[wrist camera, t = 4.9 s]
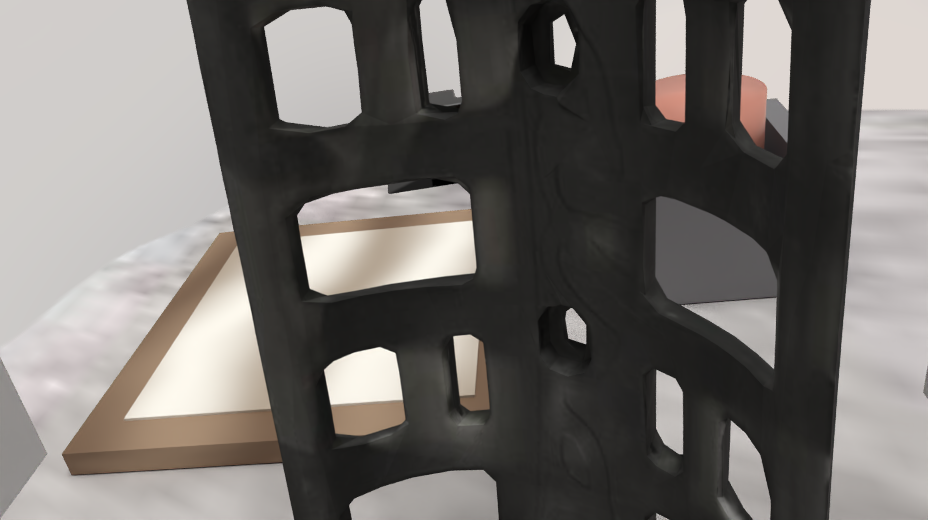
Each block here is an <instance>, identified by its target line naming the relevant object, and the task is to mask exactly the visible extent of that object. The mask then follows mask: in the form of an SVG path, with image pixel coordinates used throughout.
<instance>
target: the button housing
mask: <svg viewBox="0 0 928 520" xmlns="http://www.w3.org/2000/svg"><path fill="white" fill-rule="evenodd" d="M788 114H789V112H788V111H787V110H786V108H785V107H784V106H783V105H782V104H781V103H780V102H779V101H778V100H777V99H767V101H766V122H765V144H764V150H767V151H769V152H771V153H773V154H775V155H777V156H779V157H781V158H784V157H785V156H786V155H787V139H788ZM655 277H656V279H657V281H658V282H659V284H660V286H661V288H662V289H663V291H664V293H665V295H666V296H667V298H668V299H670V300H672V301H674V302H675V303H677V304H689V303H701V302H714V301H727V300H739V299H752V298H765V297H777V279H776V276H775V273H774V271H773V268H772V265H771V263H770V260H769V257H768V255H767V252H766V251H765V250H764V249H763V248H762V247H761V246H760V245H759V244H758V243H757V242H756V241H755V240H754V239H753V238H751V237H750V236H748V235H747V234H745V233H743V232H742V231H740V230H739V229H737V228H735V227H734V226H732V225H731V224H729V223H728V222H726V221H724V220H722V219H720V218H718V217H716V216H714V215H712V214H710V213H707V212H705V211H702V210H700V209H698V208H695V207H693V206H690V205H688V204H685V203H683V202H680V201H678V200H676V199H671V198H667V197H662V196H660V197H656V269H655Z"/></svg>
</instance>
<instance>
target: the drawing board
mask: <svg viewBox="0 0 928 520" xmlns="http://www.w3.org/2000/svg"><path fill="white" fill-rule="evenodd" d="M299 230H300V236H301V242H302V248H303V254H304V259H305V265H306V270H307V276H308V281H309V287H310V289H312V290H315V291H317V292H320V293H322V294H325V295H333V294H339V293H345V292H350V291H356V290H362V289H367V288H372V287H377V286H382V285H387V284H393V283H400V282H407V281H414V280H421V279H428V278H436V277H443V276H452V275H461V274H470V273H475V271H476V256H475V245H474V234H473V223H472V211H471V209H468V210H457V211H446V212H436V213H425V214H415V215H404V216H394V217H383V218H372V219H362V220H351V221H341V222H330V223H320V224H309V225H299ZM453 338H454V348H455V358H456V368H457V377H458V386H459V395H460V404H461V405H463V406H464V407H465V408H467V409H468V410H470V411H476V410H487V409H490V405H489V394H488V383H487V372H486V363H485V355H484V347H483V342H481V341H480V340H478V339H476V338H475V337H473V336H472V335H461V336H453ZM324 372H325V377H326V383H327V388H328V393H329V398H330V403H331V409H332V416H333V422H334V428H335V433H337V434H346V435H356V436H364V435H367V434H371V433H374V432H377V431H380V430H383V429H387V428H390V427H393V426H396V425H399V424H402V423H403V422H404V421H405V412H404V404H403V397H402V389H401V383H400V376H399V369H398V364H397V359H396V354H395V353H394V352H391V351H389V350H386V349H383V348H381V347H378V348H373V349H369V350H364V351H359V352H355V353H352V354H350V355H347V356H345V357H343V358H340V359H338V360H336V361H333V362H332V363H331V364H330V365H329V366H328V367H327V368H326V369H324ZM62 456H63V458H64V460H65V462H66V464H67V466H68V468H69V471H70V473H71V475H78V474H94V473H111V472H127V471H143V470H160V469H176V468H193V467H209V466H226V465H242V464H259V463H275V462H282V458H281V453H280V448H279V444H278V439H277V435H276V430H275V425H274V421H273V416H272V411H271V407H270V402H269V397H268V392H267V387H266V382H265V377H264V373H263V368H262V363H261V358H260V353H259V348H258V344H257V339H256V334H255V329H254V324H253V319H252V313H251V309H250V304H249V299H248V295H247V290H246V286H245V281H244V276H243V271H242V266H241V262H240V257H239V252H238V248H237V243H236V239H235V234H234V232H225V233H219V235H218V236H217V237H216V239H215V240H214V242H213V243H212V244H211V246H210V247H209V249H208V250H207V251H206V253H205V254H204V256H203V257H202V258H201V260H200V261H199V263H198V264H197V265H196V267H195V268H194V270H193V271H192V272H191V274H190V275H189V277H188V278H187V279H186V281H185V282H184V284H183V285H182V286H181V288H180V289H179V291H178V292H177V293H176V295H175V296H174V298H173V299H172V300H171V302H170V303H169V305H168V306H167V307H166V309H165V310H164V312H163V313H162V314H161V316H160V317H159V319H158V320H157V321H156V323H155V324H154V326H153V327H152V328H151V330H150V331H149V333H148V334H147V335H146V337H145V338H144V340H143V341H142V342H141V344H140V345H139V347H138V348H137V349H136V351H135V352H134V354H133V355H132V356H131V358H130V359H129V361H128V362H127V363H126V365H125V366H124V368H123V369H122V370H121V372H120V373H119V375H118V376H117V377H116V379H115V380H114V382H113V383H112V384H111V386H110V387H109V389H108V390H107V391H106V393H105V394H104V396H103V397H102V398H101V400H100V401H99V403H98V404H97V405H96V407H95V408H94V410H93V411H92V412H91V414H90V415H89V417H88V418H87V419H86V421H85V422H84V424H83V425H82V426H81V428H80V429H79V431H78V432H77V433H76V435H75V436H74V438H73V439H72V440H71V442H70V443H69V445H68V446H67V447H66V449H65V450H64V452H63V453H62Z"/></svg>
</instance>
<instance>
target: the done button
mask: <svg viewBox="0 0 928 520" xmlns="http://www.w3.org/2000/svg"><path fill="white" fill-rule="evenodd" d="M685 76H686V74H682V75H676V76H671V77H666V78H663V79H659V80H656V106H657V107H658V109H659V110H660V111H661V113H662V114H663V115H664V117H665V118H666V119H669V120H674V121H679V122H685ZM766 101H767V87H766V85H765V84H764V83H763V82H761V81H760V80H758V79H755V78H753V77H749V76H745V75H742V82H741V109H740V121H741V122H742V124H743V126H744V127H745V129H746V130H747V132H748V133H749V135H750V136H751V138H752V139H753V141H754V143H755V144H756V146H758V147H760V148H762V149H764V144H765V122H766Z"/></svg>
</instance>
